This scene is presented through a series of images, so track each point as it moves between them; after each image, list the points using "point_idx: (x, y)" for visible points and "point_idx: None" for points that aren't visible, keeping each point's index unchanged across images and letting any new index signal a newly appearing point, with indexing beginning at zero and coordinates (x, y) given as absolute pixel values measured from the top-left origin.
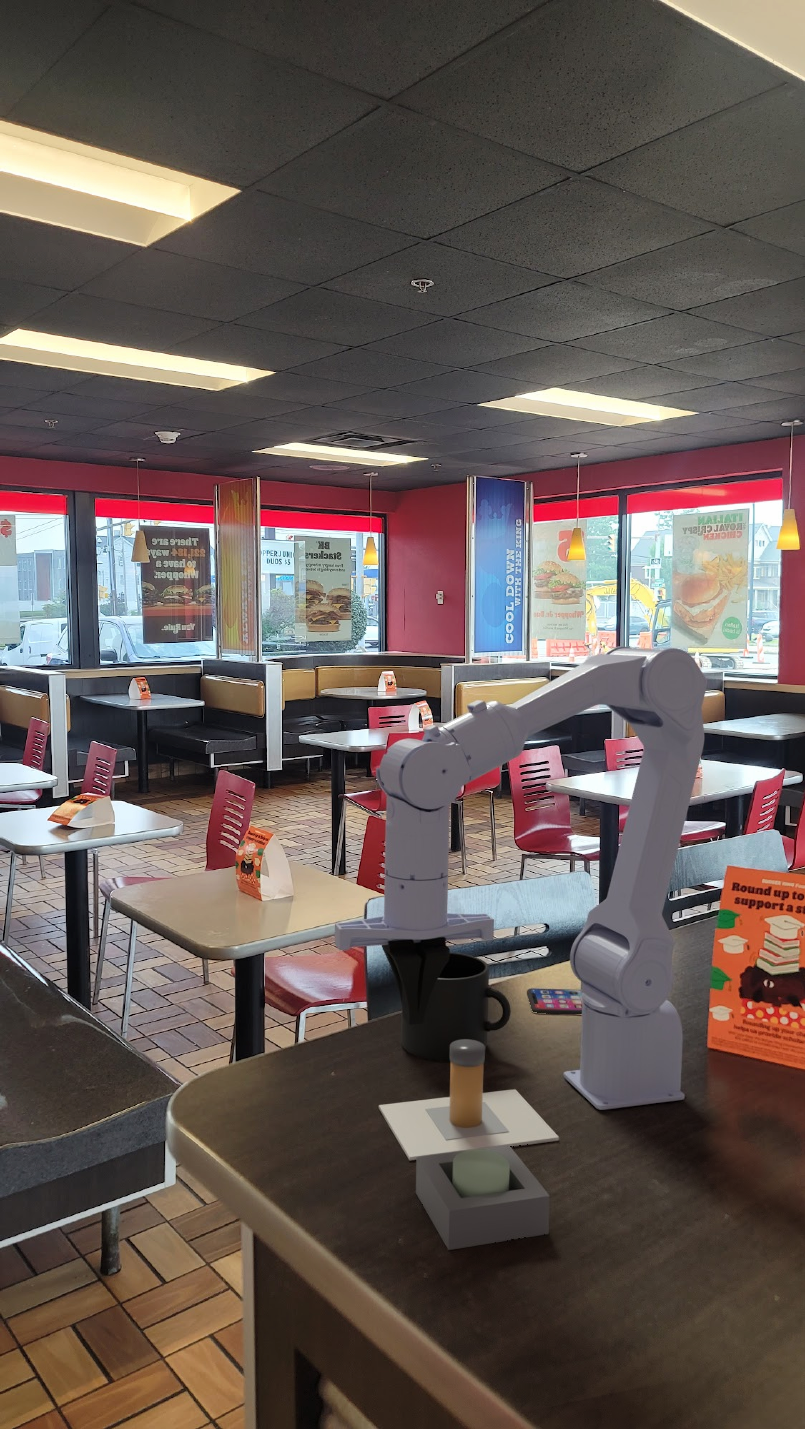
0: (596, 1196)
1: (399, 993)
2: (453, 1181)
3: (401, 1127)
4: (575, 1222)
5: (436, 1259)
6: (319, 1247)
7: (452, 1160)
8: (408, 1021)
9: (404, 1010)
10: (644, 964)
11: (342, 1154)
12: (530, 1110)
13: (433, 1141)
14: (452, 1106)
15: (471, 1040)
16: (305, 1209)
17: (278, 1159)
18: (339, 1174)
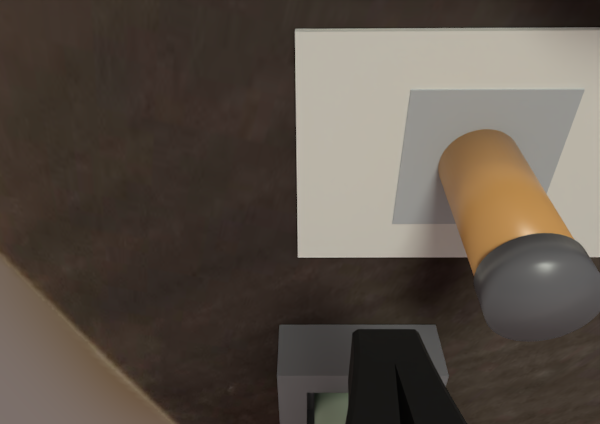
0: (529, 371)
1: (347, 415)
2: (314, 414)
3: (318, 157)
4: (461, 400)
5: (264, 415)
6: (126, 382)
7: (332, 389)
8: (348, 388)
9: (351, 379)
10: None
11: (172, 209)
12: None
13: (365, 220)
14: (447, 196)
15: (591, 275)
16: (104, 324)
17: (39, 199)
18: (161, 262)
